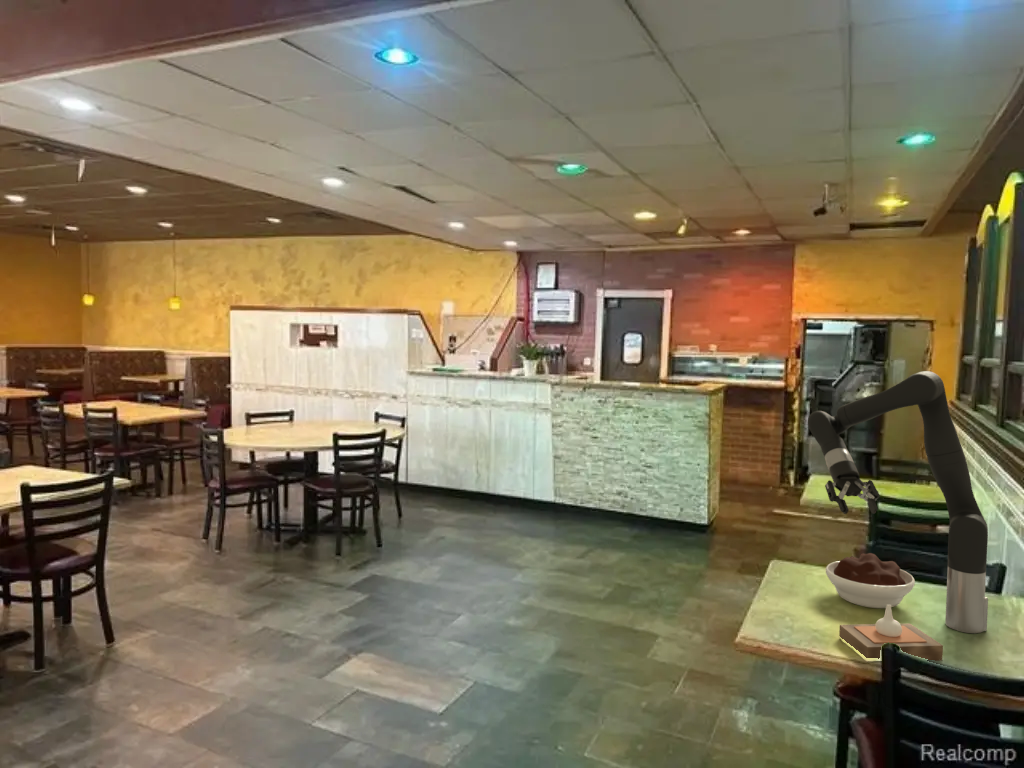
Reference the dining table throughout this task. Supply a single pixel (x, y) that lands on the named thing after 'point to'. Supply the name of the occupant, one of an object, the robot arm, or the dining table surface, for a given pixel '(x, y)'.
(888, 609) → the garlic bulb
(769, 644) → the dining table surface
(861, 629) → the mat
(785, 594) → the dining table surface
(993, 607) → the dining table surface
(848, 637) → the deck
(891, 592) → the bowl of brown food
